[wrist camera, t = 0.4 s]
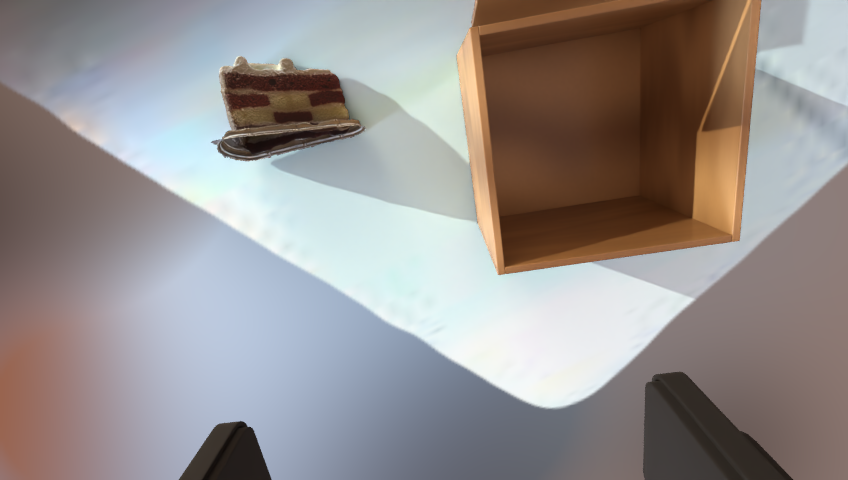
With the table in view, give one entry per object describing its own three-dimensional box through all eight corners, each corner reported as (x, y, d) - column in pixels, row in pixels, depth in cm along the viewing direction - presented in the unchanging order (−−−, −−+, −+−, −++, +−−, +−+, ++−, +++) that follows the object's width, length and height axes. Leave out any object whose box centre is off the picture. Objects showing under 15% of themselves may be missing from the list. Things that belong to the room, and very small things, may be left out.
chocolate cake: (356, 46, 34) (201, 19, 26) (374, 127, 34) (225, 125, 26) (309, 91, 41) (176, 81, 33) (323, 158, 41) (195, 163, 33)
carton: (456, 55, 34) (469, 27, 22) (643, 21, 33) (764, -28, 21) (477, 223, 38) (498, 275, 27) (642, 198, 37) (739, 241, 25)
